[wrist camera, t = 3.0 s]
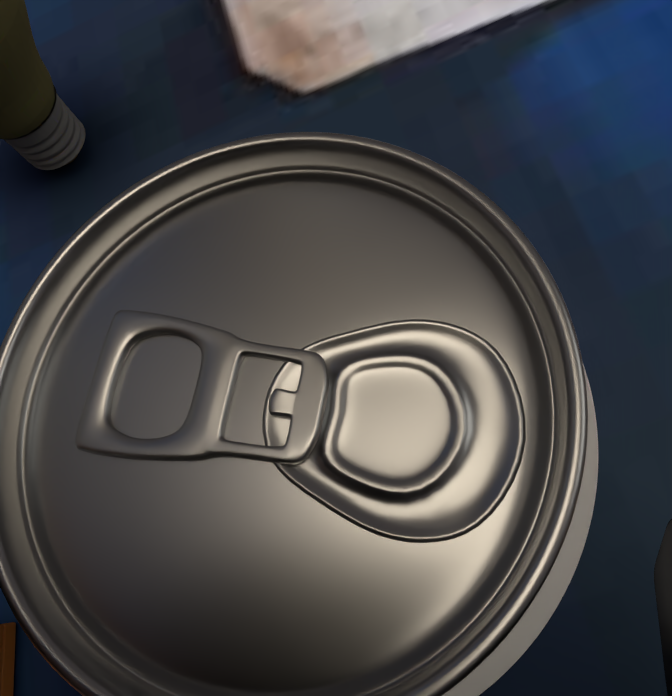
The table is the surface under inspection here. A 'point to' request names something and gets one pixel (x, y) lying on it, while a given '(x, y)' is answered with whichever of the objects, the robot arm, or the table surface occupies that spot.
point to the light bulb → (32, 97)
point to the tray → (7, 658)
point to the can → (293, 432)
